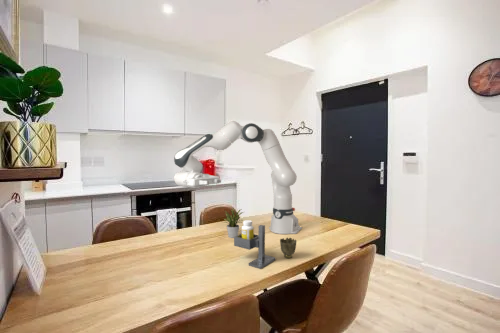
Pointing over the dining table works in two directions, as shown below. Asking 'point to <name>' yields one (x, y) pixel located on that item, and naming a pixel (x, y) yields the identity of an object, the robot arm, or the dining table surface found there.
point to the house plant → (233, 224)
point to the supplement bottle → (247, 230)
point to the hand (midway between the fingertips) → (214, 181)
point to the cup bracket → (258, 243)
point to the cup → (288, 247)
